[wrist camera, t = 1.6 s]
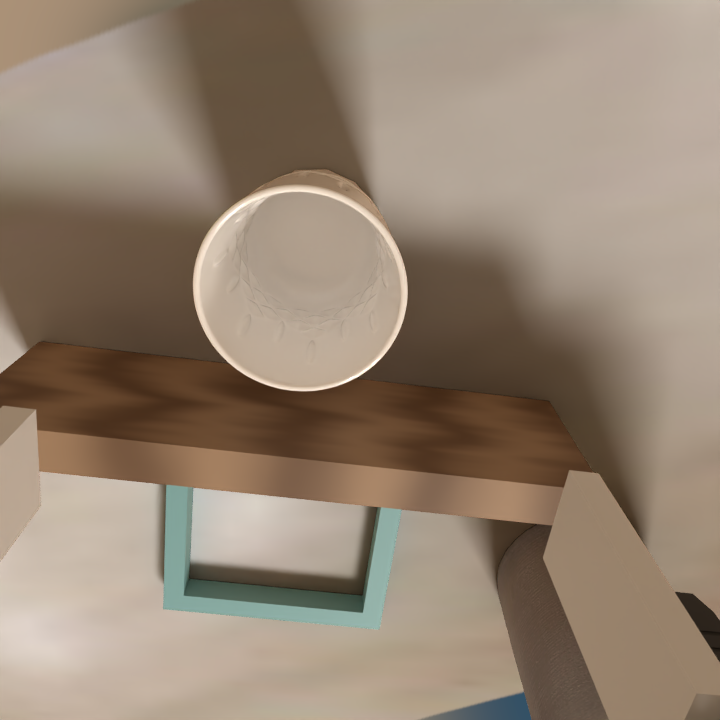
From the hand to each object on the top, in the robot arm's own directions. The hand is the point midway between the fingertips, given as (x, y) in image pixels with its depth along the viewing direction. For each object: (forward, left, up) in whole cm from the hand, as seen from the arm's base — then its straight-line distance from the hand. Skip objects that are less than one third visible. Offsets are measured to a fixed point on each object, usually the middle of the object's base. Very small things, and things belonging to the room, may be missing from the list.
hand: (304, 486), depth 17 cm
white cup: (-1, -2, -20) cm, 20 cm away
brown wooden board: (+5, +4, -19) cm, 20 cm away
